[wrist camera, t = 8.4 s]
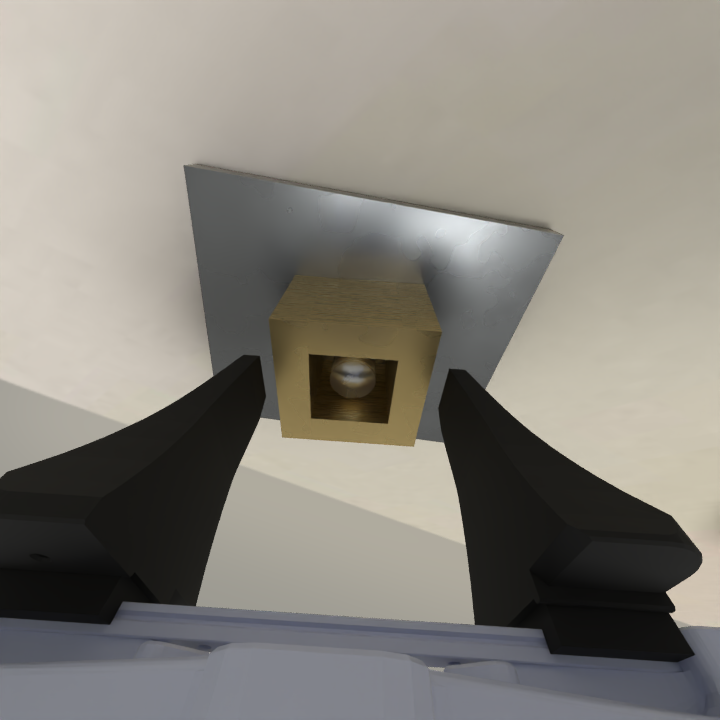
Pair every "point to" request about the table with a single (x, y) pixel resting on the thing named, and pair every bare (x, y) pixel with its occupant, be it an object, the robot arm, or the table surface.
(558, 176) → the table surface
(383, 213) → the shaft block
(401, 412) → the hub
